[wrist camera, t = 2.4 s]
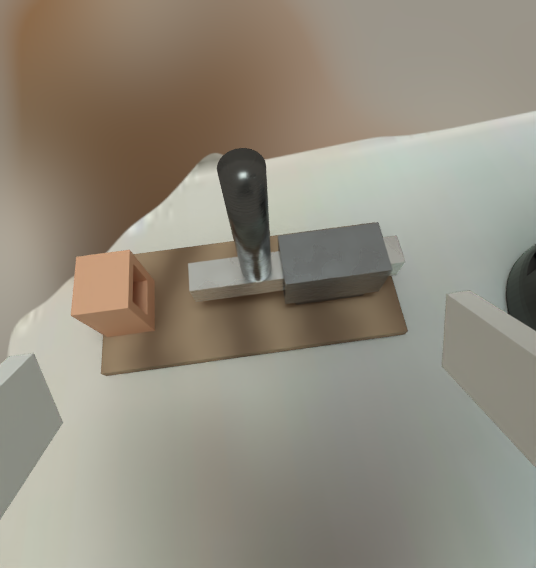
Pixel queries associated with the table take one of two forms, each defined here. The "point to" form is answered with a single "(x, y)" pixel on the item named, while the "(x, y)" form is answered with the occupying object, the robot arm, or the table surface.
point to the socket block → (113, 294)
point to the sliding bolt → (250, 236)
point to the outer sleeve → (333, 263)
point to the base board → (240, 318)
